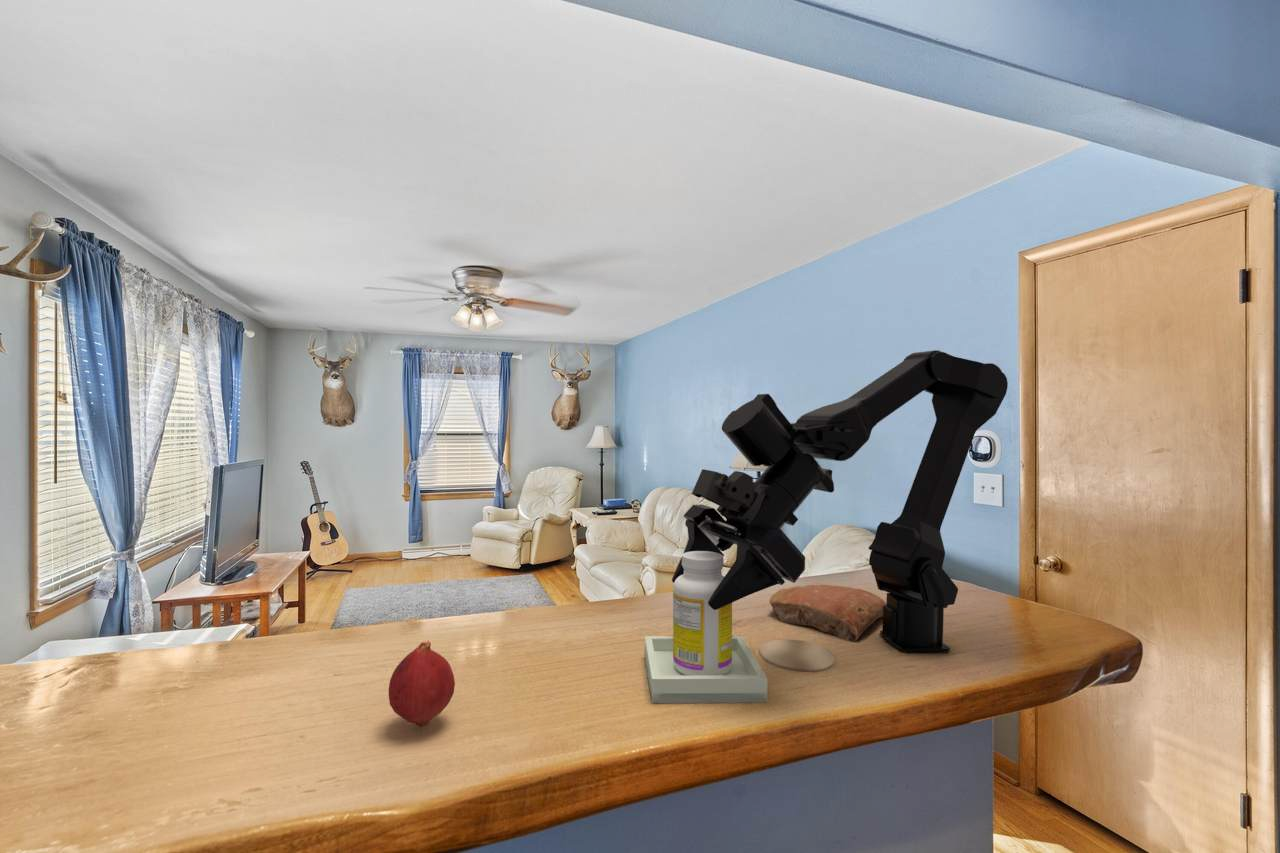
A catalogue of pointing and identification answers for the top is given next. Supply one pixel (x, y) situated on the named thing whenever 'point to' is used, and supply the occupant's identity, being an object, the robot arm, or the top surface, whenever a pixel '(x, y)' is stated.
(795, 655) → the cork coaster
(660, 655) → the tray
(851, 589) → the ceramic shard
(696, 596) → the supplement bottle
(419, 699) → the onion
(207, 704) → the top surface
